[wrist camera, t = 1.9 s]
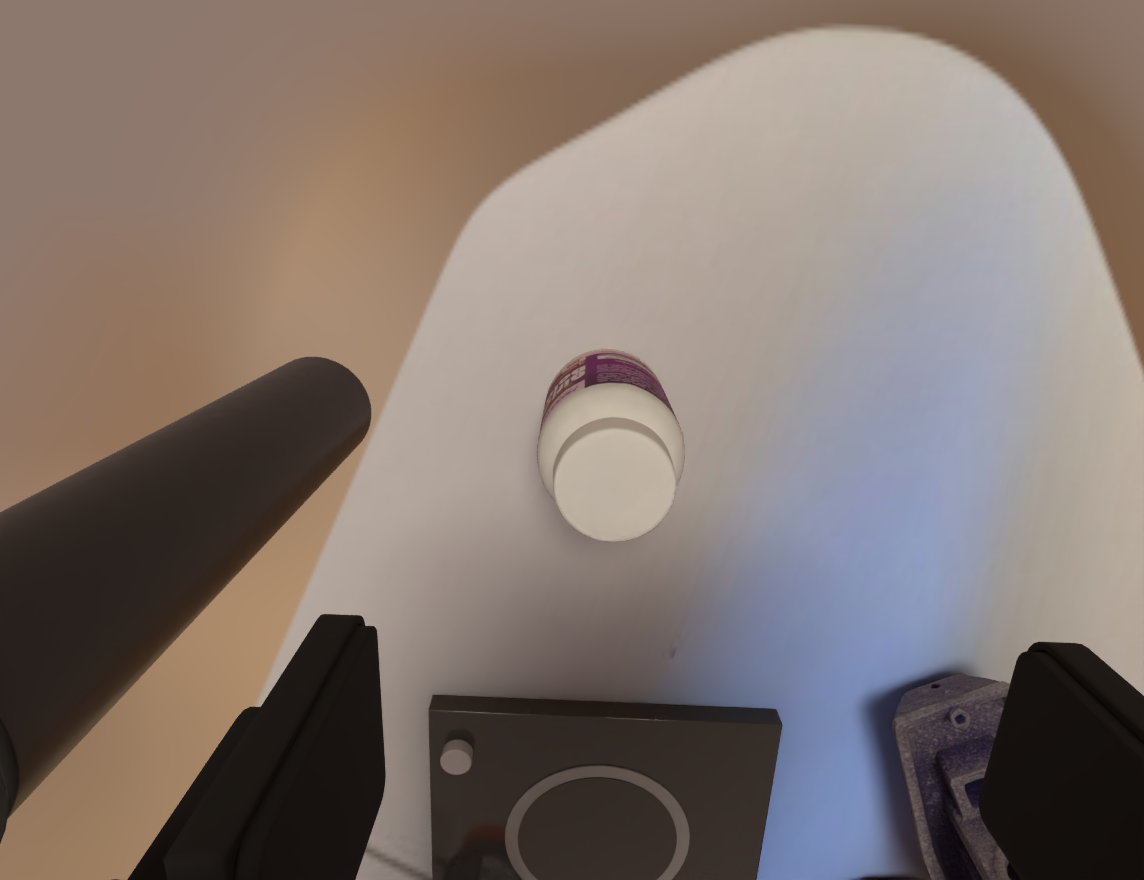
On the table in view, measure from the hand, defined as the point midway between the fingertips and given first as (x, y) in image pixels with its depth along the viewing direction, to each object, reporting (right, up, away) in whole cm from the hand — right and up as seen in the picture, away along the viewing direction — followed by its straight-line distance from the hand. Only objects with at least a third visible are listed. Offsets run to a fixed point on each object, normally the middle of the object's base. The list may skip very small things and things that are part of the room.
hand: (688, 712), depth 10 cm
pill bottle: (0, +6, +21) cm, 22 cm away
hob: (0, -17, +29) cm, 33 cm away
